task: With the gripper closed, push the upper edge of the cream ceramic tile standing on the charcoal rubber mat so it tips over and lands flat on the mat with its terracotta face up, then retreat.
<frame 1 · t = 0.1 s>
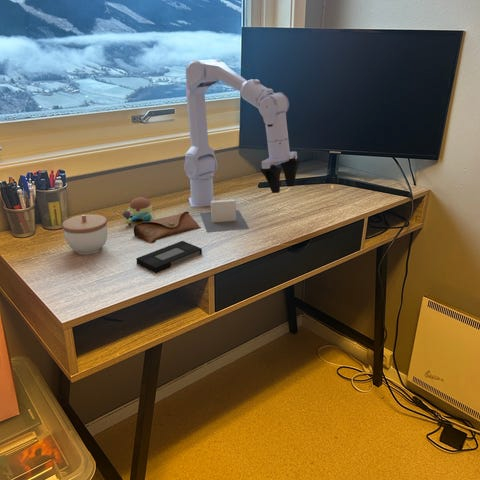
hand: (283, 189, 133), 11 cm above the table, tool pointing down, fingers open, 7 cm apart
mat: (223, 221, 140), on the table
lidded jar: (88, 250, 123), on the table
figurine: (136, 221, 142), on the table
sunglasses case: (169, 233, 134), on the table
vhs tape: (170, 261, 117), on the table
tile: (223, 220, 140), resting on mat
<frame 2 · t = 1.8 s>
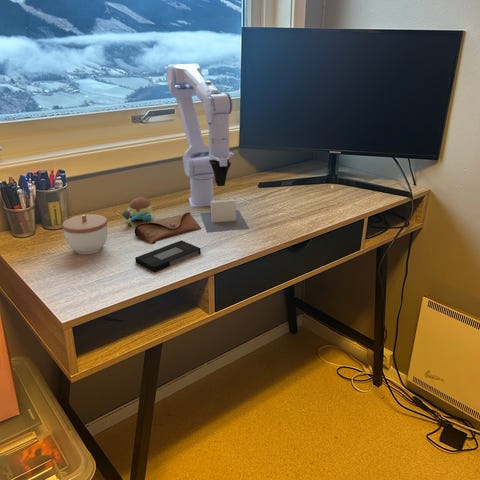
hand: (220, 184, 140), 10 cm above the table, tool pointing down, fingers closed
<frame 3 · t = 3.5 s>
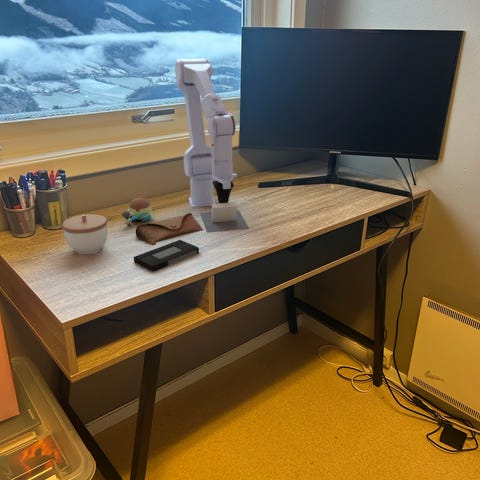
hand: (223, 206, 138), 5 cm above the table, tool pointing down, fingers closed
tile: (223, 219, 139), point 1 cm above the table, tilted 28°, touching mat
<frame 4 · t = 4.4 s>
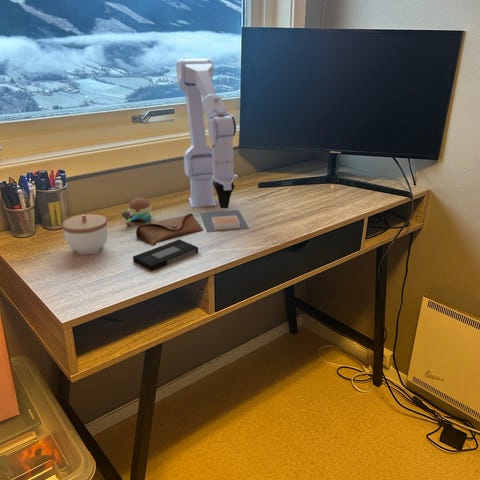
hand: (224, 207, 137), 5 cm above the table, tool pointing down, fingers closed
tile: (224, 218, 139), point 1 cm above the table, tilted 90°, touching mat
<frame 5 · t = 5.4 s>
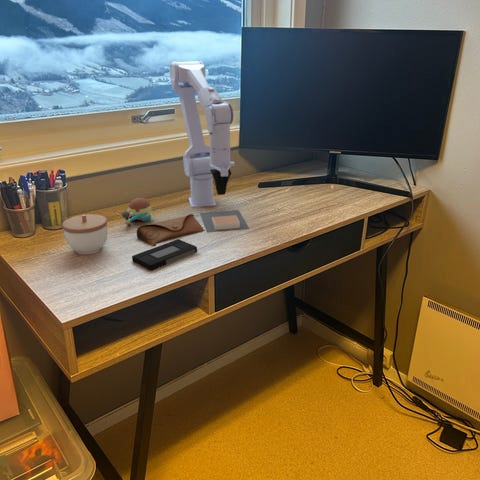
hand: (221, 194, 140), 8 cm above the table, tool pointing down, fingers closed
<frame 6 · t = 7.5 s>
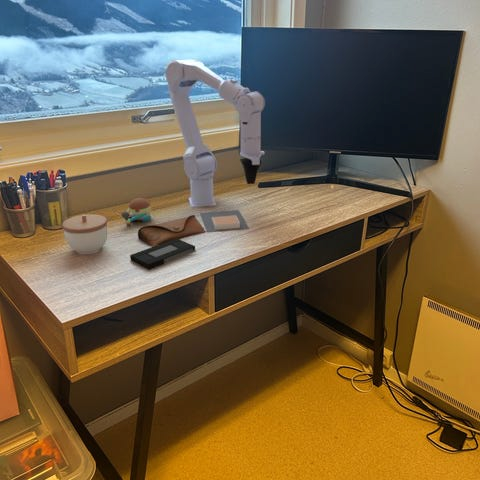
hand: (250, 183, 141), 10 cm above the table, tool pointing down, fingers closed
at the end: tile tilted 90°; tile inside the target area (0.6 cm from its centre), point 1.2 cm above the table; tile touching mat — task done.
